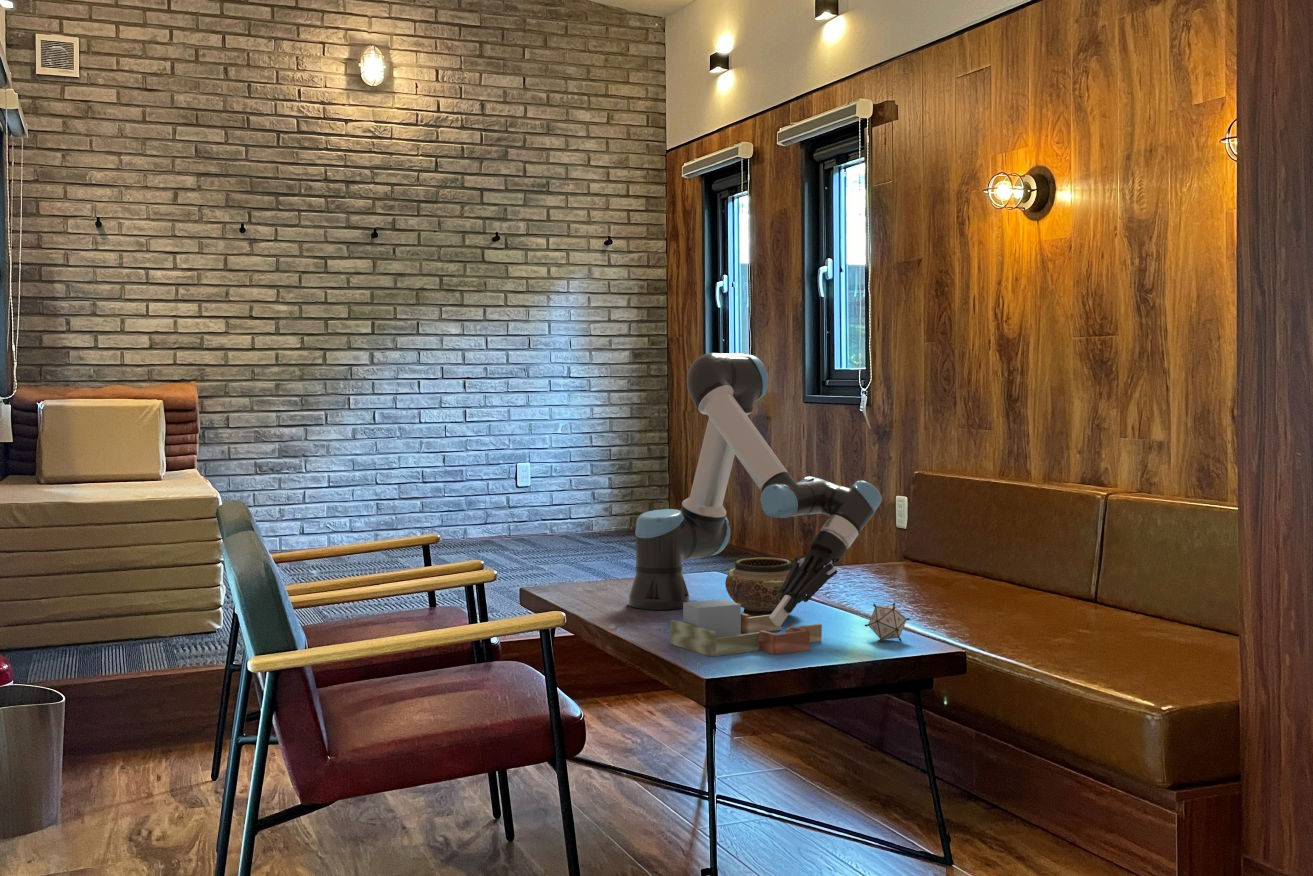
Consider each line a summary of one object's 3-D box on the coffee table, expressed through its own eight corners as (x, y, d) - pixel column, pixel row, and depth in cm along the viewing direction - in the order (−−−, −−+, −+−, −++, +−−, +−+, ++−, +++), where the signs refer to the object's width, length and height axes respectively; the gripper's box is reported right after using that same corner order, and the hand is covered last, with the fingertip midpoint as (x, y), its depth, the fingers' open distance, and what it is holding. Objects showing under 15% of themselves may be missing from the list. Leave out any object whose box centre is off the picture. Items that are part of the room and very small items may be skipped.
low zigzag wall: (656, 639, 263) (656, 616, 263) (762, 624, 279) (762, 603, 279) (728, 662, 241) (728, 637, 241) (838, 645, 257) (838, 621, 257)
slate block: (683, 644, 258) (683, 602, 257) (724, 640, 262) (724, 599, 262) (698, 651, 252) (698, 608, 251) (740, 646, 256) (740, 604, 256)
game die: (894, 659, 261) (909, 627, 255) (857, 643, 262) (871, 611, 256) (902, 632, 268) (917, 600, 262) (866, 617, 269) (880, 585, 263)
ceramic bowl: (715, 618, 300) (702, 561, 298) (776, 596, 307) (763, 539, 305) (763, 638, 278) (749, 576, 276) (828, 613, 285) (815, 552, 282)
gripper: (862, 554, 268) (802, 638, 260) (823, 547, 279) (765, 627, 271) (844, 532, 265) (783, 616, 257) (805, 526, 276) (746, 606, 268)
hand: (774, 622), depth 264 cm, fingers closed
